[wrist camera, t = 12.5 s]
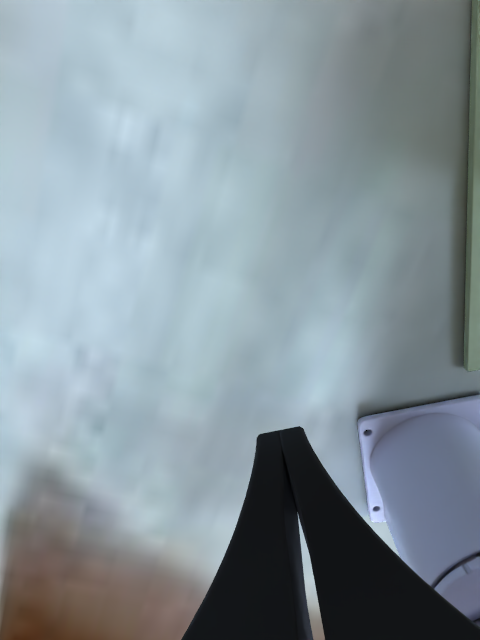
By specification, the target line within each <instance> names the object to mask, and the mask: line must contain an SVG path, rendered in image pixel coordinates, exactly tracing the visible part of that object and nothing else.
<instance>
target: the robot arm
mask: <svg viewBox="0 0 480 640" xmlns="http://www.w3.org/2000/svg"><path fill="white" fill-rule="evenodd" d="M357 426H358V434H359V442H360V449H361V457H362V465H363V473H364V481H365V489H366V497H367V505H368V513H369V517H370V520H371V521H372V522H375V523H377V522H384V521H386V522H387V525H388V527H389V530H390V533H391V535H392V538H393V540H394V543H395V545H396V548H397V551H398V553H399V556H400V557H399V556H398V555H397V554H396V553H394V552H393V551H392V550H391V549H390V548H389V547H388V545H387V544H386V543H385V542H384V541H383V540H382V539H381V538H380V537H379V536H378V535H377V534H376V533H375V532H374V531H373V530H372V528H371V527H370V526H369V525H368V524H367V523H366V522H365V521H364V519H363V518H362V517H361V516H360V515H359V514H358V512H357V511H356V510H355V509H354V508H353V506H352V505H351V504H350V503H349V501H348V500H347V499H346V497H345V496H344V495H343V494H342V492H341V491H340V490H339V488H338V487H337V486H336V484H335V483H334V481H333V480H332V479H331V477H330V476H329V474H328V473H327V471H326V470H325V468H324V467H323V465H322V464H321V462H320V461H319V459H318V457H317V456H316V454H315V452H314V451H313V449H312V447H311V445H310V443H309V441H308V439H307V437H306V434H305V432H304V429H303V428H301V427H300V426H299V427H294V428H289V429H284V430H279V431H273V432H268V433H263V434H260V435H259V436H258V437H257V445H256V453H255V459H254V464H253V469H252V474H251V478H250V482H249V486H248V490H247V493H246V497H245V500H244V504H243V507H242V510H241V513H240V516H239V519H238V522H237V525H236V528H235V531H234V533H233V536H232V539H231V541H230V544H229V546H228V549H227V551H226V553H225V556H224V558H223V560H222V563H221V565H220V567H219V569H218V571H217V573H216V576H215V578H214V580H213V582H212V584H211V586H210V588H209V590H208V592H207V594H206V596H205V598H204V600H203V602H202V604H201V605H200V607H199V609H198V611H197V613H196V614H195V616H194V618H193V620H192V622H191V624H190V625H189V627H188V629H187V631H186V633H185V634H184V636H183V638H182V639H181V640H313V636H312V630H311V625H310V619H309V613H308V608H307V600H306V593H305V584H304V574H303V564H302V554H301V544H300V534H299V524H298V515H299V519H300V522H301V526H302V529H303V533H304V536H305V540H306V543H307V547H308V550H309V554H310V558H311V564H312V569H313V575H314V580H315V585H316V591H317V596H318V602H319V607H320V613H321V618H322V624H323V630H324V635H325V640H480V395H475V396H469V397H464V398H459V399H454V400H448V401H443V402H438V403H433V404H427V405H422V406H417V407H412V408H406V409H401V410H396V411H391V412H385V413H380V414H375V415H370V416H364V417H362V418H360V419H359V420H358V423H357ZM367 429H369V430H368V431H365V430H367ZM297 512H298V514H297Z"/></svg>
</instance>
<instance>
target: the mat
mask: <svg viewBox="0 0 480 640" xmlns="http://www.w3.org/2000/svg"><path fill="white" fill-rule="evenodd" d="M464 369H465V370H466V371H467V372H471V371H476V370H480V0H472V19H471V63H470V107H469V151H468V195H467V238H466V282H465V326H464Z"/></svg>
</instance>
